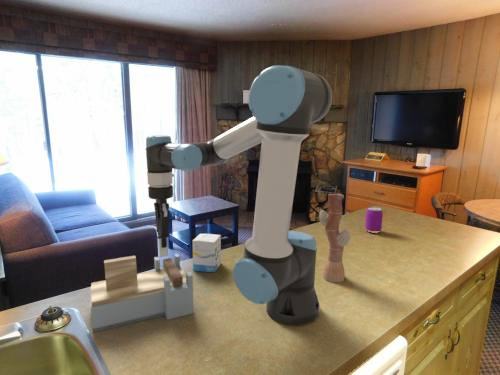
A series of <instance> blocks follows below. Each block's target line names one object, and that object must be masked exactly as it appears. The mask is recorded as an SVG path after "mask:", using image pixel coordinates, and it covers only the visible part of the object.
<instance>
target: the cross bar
mask: <svg viewBox="0 0 500 375" xmlns="http://www.w3.org/2000/svg"><path fill="white" fill-rule="evenodd" d="M162 262H163V265H162V266H163V267H164V269H165V271H166V273H167V275H168V277H169V279H170V281H171V282H172V284H173V286H174V287H176V286H180V285H183V277H182V275H181V273H180V272H179V270H178V268H177V267H176V265H175V264H174V259H173V258H172V257H169V258H163V260H162Z"/></svg>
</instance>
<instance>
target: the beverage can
mask: <svg viewBox="0 0 500 375" xmlns="http://www.w3.org/2000/svg"><path fill="white" fill-rule="evenodd" d="M365 212H366V214H365V227H364V229H365V228H366V229H367V230H370V231H381V232H382V227H383V226H382V225H383V215H384V213H383V210H382V208H380V207H376V206H369V207H368V209H367V210H366V211H365Z"/></svg>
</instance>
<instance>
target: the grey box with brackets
mask: <svg viewBox="0 0 500 375" xmlns="http://www.w3.org/2000/svg"><path fill="white" fill-rule="evenodd" d="M180 258H181V256H180V255H179V253H174V254H173V262H174V264H175V265H176V267H181V262H180V260H181V259H180ZM153 261H154V271H159V270H164V267H163V265H160V264H161V261H160V257H159V256H154V257H153ZM185 275H186V284H183V285H180V286H176V287H174V286H172V287H170V279H169V277H168V276H166V277H164V292H160V293H155V294H150V295H146V296H141V297H136V298H131V299H127V300H122V301H117V302H112V303H108V304H103V305H98V306H94V307H92V295H91V294H90V313H91V314H90V315H91V325H92V333H96V332H100V331H105V330H106V331H107V330H109V329H113V328H117V327H121V326H126V325H130V324H134V323H138V322H143V321H147V320H151V319H155V318H160V317H163V316H165V318H166V320H167V321H168V320H172V319H176V318H180V317H184V316H189V315H193V314H194V311H195V310H194V285H193V284H194V278H193V274H192V272H191V271H188V272H185ZM90 292H91V286H90Z"/></svg>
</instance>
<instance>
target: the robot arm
mask: <svg viewBox="0 0 500 375" xmlns="http://www.w3.org/2000/svg"><path fill="white" fill-rule="evenodd" d="M332 101H333V92H332V88H331V86H330V84H329V82H328V81H327V79H325V78H324V77H323V76H322V75H320V74H318V73H315V72H312V71H307V70H304V69H301V68H297V67H295V66H291V65H280V64H279V65H277V64H276V65H271V66H269V67H267V68H265V69H263V70H262V71H261V72H260V73H259V74H257V76H256V77H255V79H253V81H252V84H251V87H250V89H249V92H248V107H249V111H250V112H252V113H251V114H252V116H251V117H249V118H247V119H246V120H245V121H242V122H241V123H238V124H237V125H235V126H234V127H232V128H230V129H228V130H227V131H225V132H223V133H221V134H219V135H218V136H216V137H214V138H212V139H210V140H209V141H202V142H186V143H177V142H176V143H173V141H172V138H171V136H170V135H158V134H157V135H149V136H147V137H146V138H145V155H146V168H147V172H146V175H147V185H148V188H147V190H148V197H149V199H151V200H155V202H154V203H153V208H154V213H155V226H156V233H157V237H156V238H157V240H158V241H157V242H158V257H159V258H162V257H169V242H168V241H169V239H168V238H170V215H171V214H170V213H171V211H170V210H169V209H170V204H169V203H168V199H171V198H172V197H173V196H174V186H173V185H172V184H173V177H174V176H175V174H174V173H173V169H175V170H181V171H184V172H186V171H189V172H190V171H195V170H196V169H198V168H202V167H210V166H211V167H212V166H219V165H224V164H226V163H227V162H228V161H229V160H230V158H232V157H234V156H236V155H239V154H241V153H242V152H243V153H244V152H245V151H247V150H248V149H251V148H254V147H256V146H257V145H259V144H261V146H260V154H259V155H260V157H259V166H258V167H259V168H258V175H257V176H258V177H257V186H256V187H257V188H256V197H255V204H254V205H255V206H254V215H253V216H254V218H253V226H252V236H250V237H249V238H247V239H246V240H245V243H244V250H243V258H242V257H241V258H240V259H239V260H237V262H235V264H234V266H233V269H232V276H233V277H232V278H233V281H234V284H235V286H236V289H238V291H239V293H240V294H241V295H242V296H243V297H244V298H245V299H246V300H247V301H249V302H250V303H253V304H255V305H265V304H266V313H267V315H268V316H269V317H270V318H272V319H273V320H274V321H277V322H279V323H280V324H283V325H289V326H305V325H308V324H311V323H313V322H314V321H317V319H318V318H319V316H320V302H319V299H318V295H317V292H316V291H317V290H316V288H315V277H316V260H317V251H318V249H317V240H316V238H315V237H314V236H313V235H312V234H308V233H305V232H300V231H295V230H290V228H291V227H290V226H291V219H292V212H293V203H294V196H295V190H296V189H295V188H296V182H297V176H298V175H297V174H298V166H299V159H300V152H301V144H302V142H303V140H305V139H306V138H307V137H309V135H310V130H311V125H312V124H314V123H317V122H319V121H320V120H322V119H323V118H324V117H326V115H327V114H328V113H329V110H330V109H331V106H332V103H333V102H332Z"/></svg>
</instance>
